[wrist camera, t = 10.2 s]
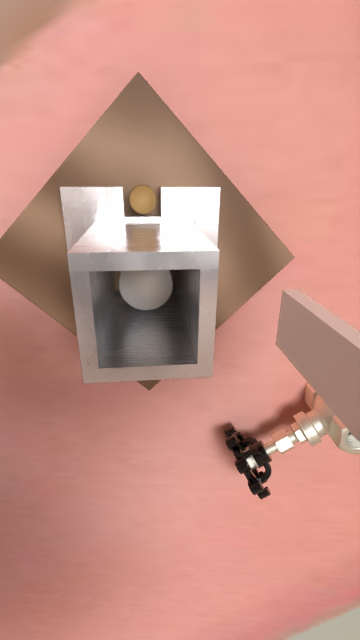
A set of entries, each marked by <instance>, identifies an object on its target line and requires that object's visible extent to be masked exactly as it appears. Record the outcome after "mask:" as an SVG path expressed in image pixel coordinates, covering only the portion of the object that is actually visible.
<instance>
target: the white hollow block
mask: <svg viewBox="0 0 360 640" xmlns="http://www.w3.org/2000/svg"><path fill="white" fill-rule="evenodd" d="M60 194H61V202H62V210H63V218H64V226H65V234H66V242H67V250H68V252H67V257H68V265H69V273H70V281H71V289H72V297H73V305H74V313H75V321H76V329H77V337H78V345H79V353H80V361H81V368H82V376H83V384H86V383H105V382H123V381H142V380H161V379H180V378H198V377H213V361H214V342H215V324H216V305H217V286H218V268H219V250H218V249H217V244H218V224H219V205H220V187H216V186H160V214H125V203H124V186H62V187H60ZM134 270H175V289H172V292H171V295H170V297H169V298H168V300H167V301H166V302H165V303H164V304H163V305H161V306H160V307H158V308H155V309H152V310H140V309H137V308H134V307H132V306H131V305H129V304H128V303H127V302H126V301H125V300H124V298H123V297H122V295H121V292H120V291H115V284H114V271H134Z"/></svg>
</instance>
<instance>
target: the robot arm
mask: <svg viewBox="0 0 360 640" xmlns="http://www.w3.org/2000/svg"><path fill="white" fill-rule="evenodd" d="M276 345H277V346H278V347H279V349H280V350H281V351H282V352H283V353H284V355H285V356H286V357H287V358H288V359H289V360H290V362H291V363H292V364H293V365H294V366H295V368H296V369H297V370H298V371H299V372H300V373H301V375H302V376H303V377H304V378H305V379H306V380H307V382H308V383H309V384H310V385H311V386H312V388H313V389H314V390H315V391H316V392H317V393H318V395H319V396H320V397H321V398H322V399H323V401H324V402H325V403H326V404H327V405H328V406H329V408H330V409H331V410H332V411H333V412H334V413H335V415H336V416H337V417H338V418H339V419H340V421H341V422H342V423H343V424H344V425H345V426H346V428H347V429H348V430H349V431H350V432H351V434H352V435H353V436H354V437H355V438H356V439H357V441H359V440H360V331H358V330H357V329H355V328H354V327H352V326H351V325H350V324H348V323H347V322H345V321H344V320H342V319H341V318H339V317H338V316H336V315H335V314H334V313H332V312H331V311H329V310H328V309H326V308H325V307H323V306H322V305H320V304H319V303H318V302H316V301H315V300H313V299H312V298H310V297H309V296H307V295H306V294H304V293H303V292H301V291H300V290H283V291H282V299H281V306H280V314H279V322H278V330H277V338H276Z"/></svg>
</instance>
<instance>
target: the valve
mask: <svg viewBox="0 0 360 640" xmlns="http://www.w3.org/2000/svg"><path fill="white" fill-rule="evenodd" d="M304 401H305V402H306V404H307V405H308V406H309V408H310V409H311V411H309V412H307V413H304V412H303V411H301V412H299V413H297V414H295V415H294V416H293V417H294V419H295V420H296V422H295V423H293V424H291V425H290V426H291V429H290V430H289V431H287V432H286V431H285V430H284V429H282V430H280V431H278V432H277V433H275V434H273V435H271V437H272V439H273V440H272V441H270V442H269V443H267V444H265V445H264V444H263V442H262V441H261V440H260V441H257V440H256V439H254V438H246V439H244V437H243V435H242V434H241V432H239V433H238V434H236V435H234V434H233V433H234V432H236V431H237V430H236V428H235V427H234V426H231V427H229V428H227V429H226V430H225V434H226V436H227V439H225V442H226V445H227V447H228V448H229V450H230V451H232V452H233V453H234V455H235V457H236V461H235V465H236V468H237V470H238V471H239V473H240V474H243V473H244V475H245V476H246V478H247V480H248V486H249V488H250V490H251V492H252V494H253V495H256V494H257V495H258V496H259V498H260V499H263V498H265V497H267V496H269V495H270V494H271V493H270V491H269V488H268V487H265V488H264V487H263V485H262V484H263V483H265V482H267V479H268V478H269V477H270V475H271V466H270V464H269V462H271V461H272V459H271V456H270V455H271V454H273V453H275V452H277V451H280V453H281V454H284V453H286V452H287V451H289V450H291V449H293V448H295V447H294V445H293V444H294V443H296V442H300V443H304V442H306V441H309V443H310V445H311V446H314V445H316V444H318V443H320V442H322V440H321V437H322V436H324V435H326V434H329V436H330V437H331V439H332V440H333V441H334V443H335V444H336V446H337V447H338V448H339V449H341V450H343V451H346V452H348V453H351V454H359V453H360V440H359V441H357V439H356V438H355V437H354V436H353V435H352V434H351V432H350V431H349V430H348V429H347V428H346V426H345V425H344V424H343V423H342V422H341V421H340V419H339V418H338V417H337V416H336V415H335V413H334V412H333V411H332V410H331V409H330V408H329V406H328V405H327V404H326V403H325V402H324V401H323V399H322V398H321V397H320V396H319V395H318V393H317V392H316V391H315V390H314V389H313V388H312V386H311V385H310V384H309V383H307V384H306V388H305V395H304ZM249 445H251V446H249ZM247 446H249V447H247ZM246 447H247V449H246ZM262 466H264V467H265V472H264V473H263V472H262V471H261V472H258V470H257V468H260V467H262Z"/></svg>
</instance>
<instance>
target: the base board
mask: <svg viewBox="0 0 360 640" xmlns="http://www.w3.org/2000/svg"><path fill="white" fill-rule="evenodd" d="M62 186H124V203H125V214H160V186H216V187H220V205H219V224H218V244H217V249H218V250H219V268H218V286H217V305H216V324H215V330H216V329H217V328H218V327H219V326H220V325H221V324H223V323H224V322H225V321H226V320H227V319H228V318H229V317H230V316H231V315H232V314H233V313H235V312H236V311H237V310H238V309H239V308H240V307H241V306H242V305H243V304H244V303H246V302H247V301H248V300H249V299H250V298H251V297H252V296H253V295H254V294H255V293H256V292H258V291H259V290H260V289H261V288H262V287H263V286H264V285H265V284H266V283H267V282H269V281H270V280H271V279H272V278H273V277H274V276H275V275H276V274H277V273H278V272H279V271H281V270H282V269H283V268H284V267H285V266H286V265H287V264H288V263H289V262H290V261H291V260H293V259H294V258H295V257H294V256H293V255H292V253H291V252H290V251H289V250H288V249H287V248H286V246H285V245H284V244H283V243H282V242H281V240H280V239H279V238H278V237H277V236H276V234H275V233H274V232H273V231H272V230H271V229H270V227H269V226H268V225H267V224H266V223H265V221H264V220H263V219H262V218H261V217H260V215H259V214H258V213H257V212H256V211H255V210H254V208H253V207H252V206H251V205H250V204H249V202H248V201H247V200H246V199H245V198H244V196H243V195H242V194H241V193H240V192H239V191H238V189H237V188H236V187H235V186H234V185H233V183H232V182H231V181H230V180H229V179H228V177H227V176H226V175H225V174H224V173H223V172H222V170H221V169H220V168H219V167H218V166H217V164H216V163H215V162H214V161H213V160H212V158H211V157H210V156H209V155H208V154H207V153H206V151H205V150H204V149H203V148H202V147H201V145H200V144H199V143H198V142H197V141H196V139H195V138H194V137H193V136H192V135H191V134H190V132H189V131H188V130H187V129H186V128H185V126H184V125H183V124H182V123H181V122H180V120H179V119H178V118H177V117H176V116H175V115H174V113H173V112H172V111H171V110H170V109H169V107H168V106H167V105H166V104H165V103H164V101H163V100H162V99H161V98H160V97H159V96H158V94H157V93H156V92H155V91H154V90H153V88H152V87H151V86H150V85H149V84H148V82H147V81H146V80H145V79H144V78H143V77H142V75H141V74H140V73H139V72H138V73H137V74H136V75H135V76H134V77H133V79H132V80H131V81H130V82H129V84H128V85H127V86H126V87H125V88H124V90H123V91H122V92H121V93H120V94H119V96H118V97H117V98H116V99H115V100H114V102H113V103H112V104H111V105H110V107H109V108H108V109H107V110H106V111H105V113H104V114H103V115H102V116H101V117H100V119H99V120H98V121H97V122H96V124H95V125H94V126H93V127H92V128H91V130H90V131H89V132H88V133H87V134H86V136H85V137H84V138H83V139H82V140H81V142H80V143H79V144H78V145H77V147H76V148H75V149H74V150H73V151H72V153H71V154H70V155H69V156H68V157H67V159H66V160H65V161H64V162H63V164H62V165H61V166H60V167H59V168H58V170H57V171H56V172H55V173H54V174H53V176H52V177H51V178H50V179H49V181H48V182H47V183H46V184H45V185H44V187H43V188H42V189H41V190H40V191H39V193H38V194H37V195H36V196H35V197H34V199H33V200H32V201H31V202H30V204H29V205H28V206H27V207H26V208H25V210H24V211H23V212H22V213H21V214H20V216H19V217H18V218H17V219H16V221H15V222H14V223H13V224H12V225H11V227H10V228H9V229H8V230H7V231H6V233H5V234H4V235H3V236H2V237H1V239H0V278H1V279H2V280H3V281H5V282H6V283H7V284H9V285H10V286H11V287H13V288H14V289H15V290H17V291H18V292H19V293H21V294H22V295H23V296H25V297H26V298H27V299H29V300H30V301H31V302H33V303H34V304H35V305H37V306H38V307H39V308H41V309H42V310H43V311H44V312H46V313H47V314H48V315H50V316H51V317H52V318H54V319H55V320H56V321H58V322H59V323H60V324H62V325H63V326H64V327H66V328H67V329H68V330H70V331H71V332H72V333H74V334H75V335H76V336H77V329H76V321H75V313H74V305H73V297H72V289H71V281H70V273H69V265H68V257H67V252H68V250H67V242H66V234H65V226H64V218H63V210H62V202H61V194H60V187H62ZM114 284H115V291H120V292H121V295H122V297H123V298H124V300H125V301H126V302H127V303H128V304H129V305H131V306H132V307H134V308H137V309H140V310H152V309H155V308H158V307H160V306H161V305H163V304H164V303H165V302H166V301H167V300H168V298H169V297H170V295H171V292H172V289H175V270H134V271H114ZM159 381H160V380H142V381H137V382H139V383H140V384H141V385H143V386H144V387H145V388H147V389H148V390H150V389H151V388H153V387H154V386H155V385H156V384H157V383H158V382H159Z"/></svg>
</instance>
